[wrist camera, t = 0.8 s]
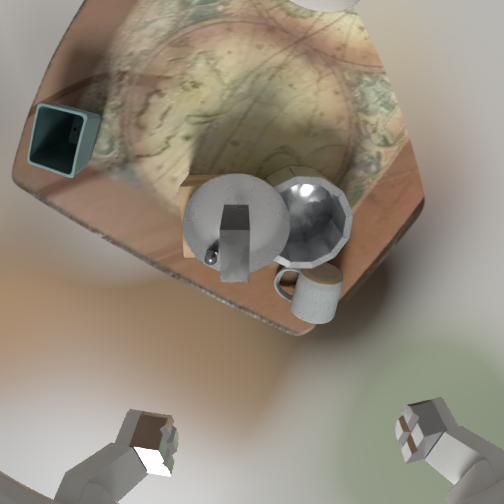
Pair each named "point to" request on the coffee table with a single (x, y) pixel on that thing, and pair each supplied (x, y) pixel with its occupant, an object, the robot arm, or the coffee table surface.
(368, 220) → the coffee table surface
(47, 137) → the flower pot
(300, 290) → the ceramic mug
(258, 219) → the lid
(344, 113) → the coffee table surface
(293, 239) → the pot
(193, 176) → the tan block
